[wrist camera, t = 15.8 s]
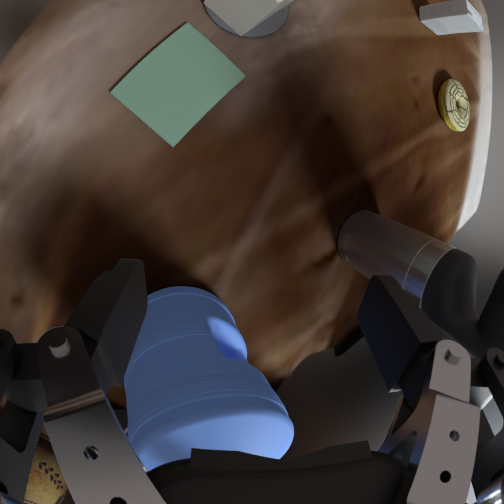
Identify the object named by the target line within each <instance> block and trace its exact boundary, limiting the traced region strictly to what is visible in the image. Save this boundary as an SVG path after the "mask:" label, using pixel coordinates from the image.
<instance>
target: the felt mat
mask: <svg viewBox="0 0 504 504" xmlns="http://www.w3.org/2000/svg"><path fill="white" fill-rule="evenodd" d="M245 77H246V76H245V75H244V74H243V73H242V72H241V71H240V70H239V69H238V68H237V67H236V66H235V65H234V64H233V63H232V62H231V61H230V60H229V59H228V58H227V57H226V56H225V55H224V54H223V53H222V52H221V51H220V50H218V49H217V48H216V47H215V46H214V45H213V44H212V43H211V42H210V41H209V40H207V39H206V38H205V37H204V36H203V35H202V34H201V33H200V32H198V31H197V30H196V29H195V28H194V27H193V26H191V25H190V24H189V23H186V24H185V25H184V26H182V27H181V28H180V29H178V30H177V31H176V32H175V33H173V34H172V35H171V36H170V37H168V38H167V39H166V40H165V41H164V42H162V43H161V44H160V45H159V46H158V47H156V48H155V49H154V50H153V51H152V52H151V53H150V54H149V55H147V56H146V57H145V58H144V59H143V60H142V61H141V62H140V63H139V64H138V65H137V66H136V67H135V68H133V69H132V70H131V71H130V72H129V73H128V74H127V75H126V76H125V77H124V78H123V79H122V80H121V81H120V82H119V83H118V85H117V86H116V87H115V88H114V89H113V90H112V91H111V92H110V93H111V94H112V95H113V96H114V97H115V98H117V99H118V100H119V101H120V102H121V103H122V104H124V105H125V106H126V107H127V108H128V109H129V110H131V111H132V112H133V113H134V114H135V115H136V116H138V117H139V118H140V119H141V120H142V121H143V122H144V123H146V124H147V125H148V126H149V127H150V128H151V129H152V130H154V131H155V132H156V133H157V134H158V135H159V136H160V137H162V138H163V139H164V140H165V141H166V142H167V143H168V144H170V145H171V146H172V147H174V146H175V145H176V144H177V143H178V142H179V141H180V140H181V139H182V137H183V136H184V135H185V134H186V133H187V132H188V131H189V130H190V129H191V128H192V127H193V126H194V125H195V124H196V123H197V122H198V121H199V120H200V119H201V118H202V117H203V116H204V115H205V114H206V113H207V112H208V111H209V110H210V109H211V108H212V107H213V106H214V105H215V104H216V103H217V102H218V101H219V100H220V99H222V98H223V97H224V96H225V95H226V94H227V93H228V92H229V91H230V90H231V89H232V88H233V87H235V86H236V85H237V84H238V83H239V82H240V81H241V80H242V79H244V78H245Z"/></svg>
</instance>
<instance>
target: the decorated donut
mask: <svg viewBox="0 0 504 504" xmlns="http://www.w3.org/2000/svg"><path fill="white" fill-rule="evenodd" d="M438 106H439V111H440V115H441V117H442V119H443V121H444V123H445V124H447V125H448V126H449V127H450V128H451V129H452V130H454V131H464V130H465V129H466V127H467V125H468V124H469V116H470V109H469V101H468V98H467V95H466V93H465V90H464V89H463V87H462V85H461V84H460V83H459V82H458V81H456V80H453V79H448V80H447V81H444V83H443V84H442V85H441V88H440V90H439V93H438Z"/></svg>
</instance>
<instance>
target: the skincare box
mask: <svg viewBox="0 0 504 504" xmlns="http://www.w3.org/2000/svg"><path fill="white" fill-rule="evenodd" d="M419 15H420V21H421V22H422V23H423V24H425V25H426V26H427V27H428V28H429V29H431V30H432V31H433V32H434V33H435V34H437V35H443V34H452V33H464V32H482V31H483V25H482V19H481V16H480V15H479V13H478V12H477V11H476V10H475V9H474V8H473V6H472V5H471V4H470V3H469V2H468V1H467V0H452V1H446V2H440V3H435V4H430V5H426V6H421V7H420V8H419Z"/></svg>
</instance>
